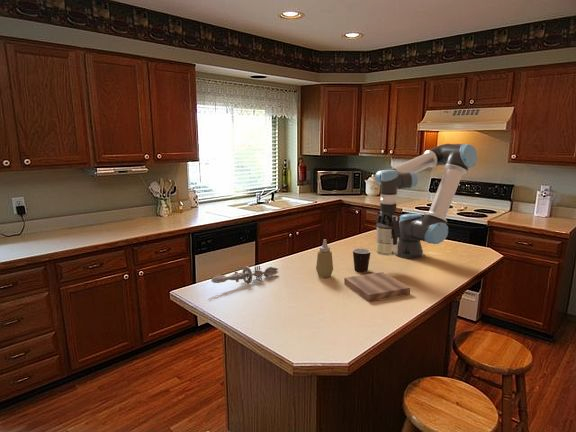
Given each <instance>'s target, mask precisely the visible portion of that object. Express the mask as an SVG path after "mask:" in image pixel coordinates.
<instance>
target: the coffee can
mask: <svg viewBox="0 0 576 432" xmlns="http://www.w3.org/2000/svg"><path fill="white" fill-rule="evenodd" d="M392 229H394V227H390V226H389V225H388V223H387V222H386V223H383V224H381V223H377V230H376V247H375V249H376V250H375V252H376V254H378V255H380V256H390V257H391V256H396V254H397V253H398V239H399V238H397V250H396V251H391V237H392V234H391V231H392ZM394 236H395V235H394Z"/></svg>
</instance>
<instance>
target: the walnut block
mask: <svg viewBox="0 0 576 432" xmlns="http://www.w3.org/2000/svg"><path fill="white" fill-rule="evenodd" d="M343 282H344V283H343V284H344V285H345V286H346V287H347V288H349V289H350V290H352V291H353V292H354V293H356V294H358V295H359V296H360V297H362V299H363V300H365V301H367V302H368V303H370V302H375V301H380V300H387V299H394V298H398V297H403V296H408V295H411V287H410V286H408V285H407V284H405V283H403V282H401V281H399V280H397V279H395V278H394V277H393V276H391V275H389V274H387V273H386V272H384V271H381V272H374V273H368V274H360V275H354V276H347V277H344V281H343Z"/></svg>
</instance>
